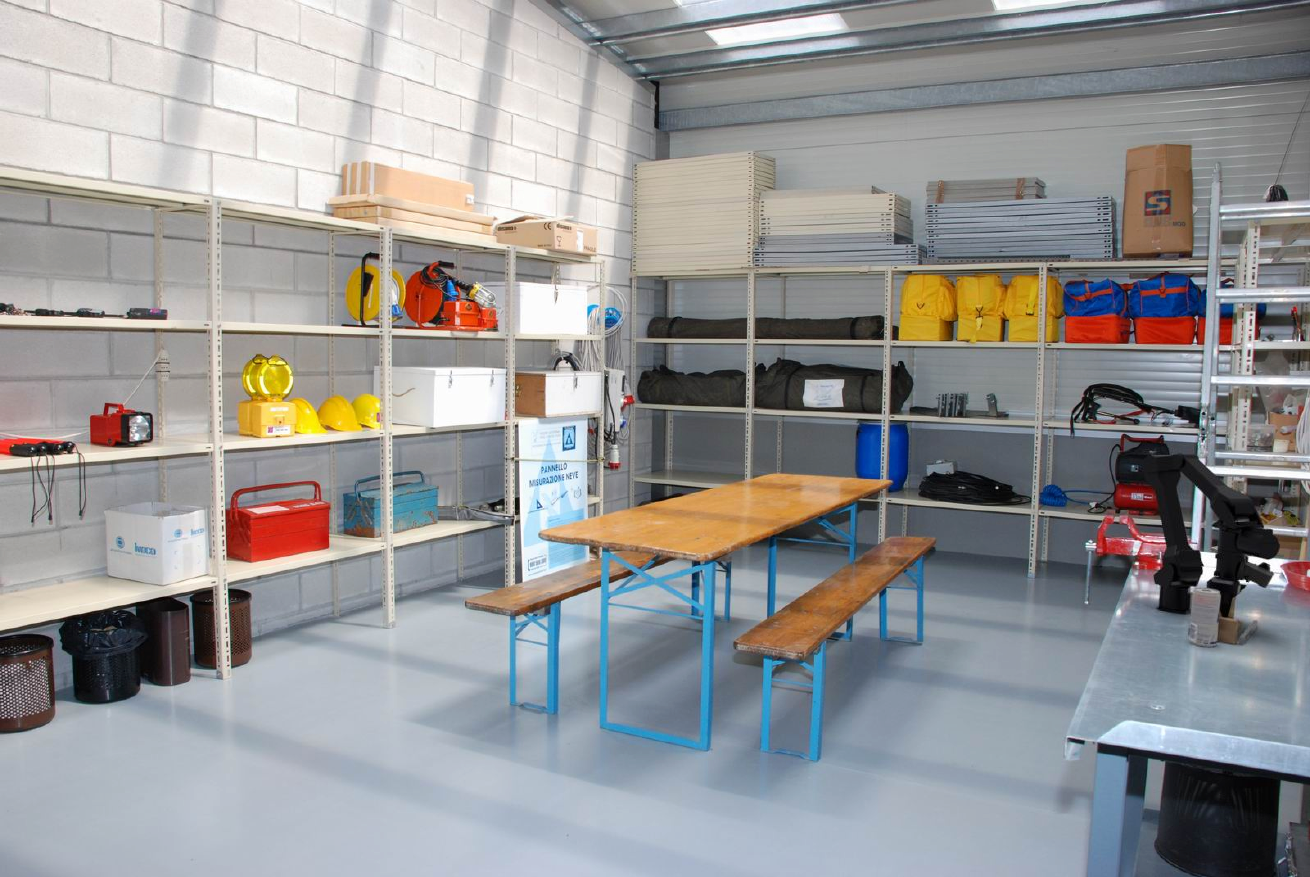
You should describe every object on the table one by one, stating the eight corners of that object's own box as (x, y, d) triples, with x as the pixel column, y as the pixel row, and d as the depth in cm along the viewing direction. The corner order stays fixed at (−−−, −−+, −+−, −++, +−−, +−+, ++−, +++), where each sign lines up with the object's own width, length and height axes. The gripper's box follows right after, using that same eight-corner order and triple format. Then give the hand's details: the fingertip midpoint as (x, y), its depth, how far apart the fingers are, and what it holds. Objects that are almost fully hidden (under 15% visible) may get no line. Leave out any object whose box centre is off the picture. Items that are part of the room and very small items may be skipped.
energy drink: (1215, 642, 217) (1219, 589, 215) (1218, 648, 212) (1222, 594, 211) (1188, 638, 219) (1192, 586, 218) (1190, 645, 214) (1193, 591, 213)
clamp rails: (1188, 635, 222) (1188, 628, 221) (1205, 618, 236) (1206, 612, 236) (1242, 645, 215) (1243, 638, 215) (1257, 627, 229) (1257, 620, 229)
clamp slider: (1194, 636, 220) (1196, 602, 219) (1207, 623, 231) (1210, 590, 230) (1234, 643, 215) (1237, 609, 214) (1246, 629, 226) (1249, 596, 225)
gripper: (1266, 562, 213) (1260, 631, 215) (1278, 549, 228) (1272, 614, 229) (1208, 554, 220) (1203, 621, 222) (1223, 542, 235) (1218, 605, 236)
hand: (1226, 616), depth 227 cm, fingers closed on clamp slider, 3 cm apart
